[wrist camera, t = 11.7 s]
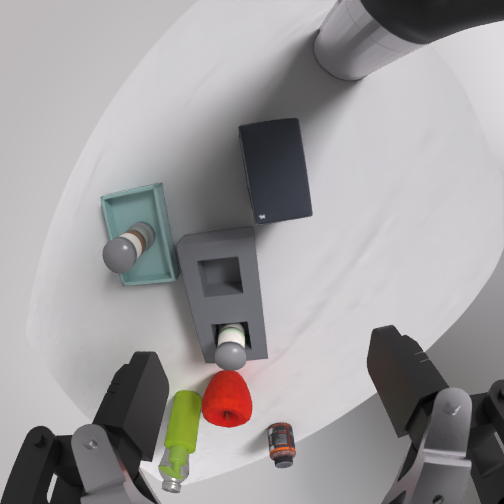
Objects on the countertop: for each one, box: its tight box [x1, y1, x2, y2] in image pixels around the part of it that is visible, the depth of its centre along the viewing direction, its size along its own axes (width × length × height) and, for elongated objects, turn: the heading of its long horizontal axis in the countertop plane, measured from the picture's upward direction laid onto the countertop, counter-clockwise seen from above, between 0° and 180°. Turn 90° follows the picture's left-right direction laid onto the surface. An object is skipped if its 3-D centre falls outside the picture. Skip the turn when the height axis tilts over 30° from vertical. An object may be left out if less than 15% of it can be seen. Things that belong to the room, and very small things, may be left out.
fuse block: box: [176, 227, 268, 371], centre depth 37 cm, size 20×10×10 cm, turn 6°
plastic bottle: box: [159, 424, 189, 493], centre depth 45 cm, size 6×7×20 cm
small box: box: [238, 118, 313, 226], centre depth 31 cm, size 11×6×10 cm, turn 10°
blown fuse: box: [103, 221, 155, 273], centre depth 34 cm, size 4×4×9 cm
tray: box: [101, 183, 179, 286], centre depth 37 cm, size 14×9×2 cm, turn 6°
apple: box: [202, 370, 252, 428], centre depth 43 cm, size 9×9×11 cm
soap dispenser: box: [158, 391, 202, 479], centre depth 41 cm, size 6×7×20 cm
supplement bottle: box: [268, 423, 296, 468], centre depth 50 cm, size 6×6×11 cm
